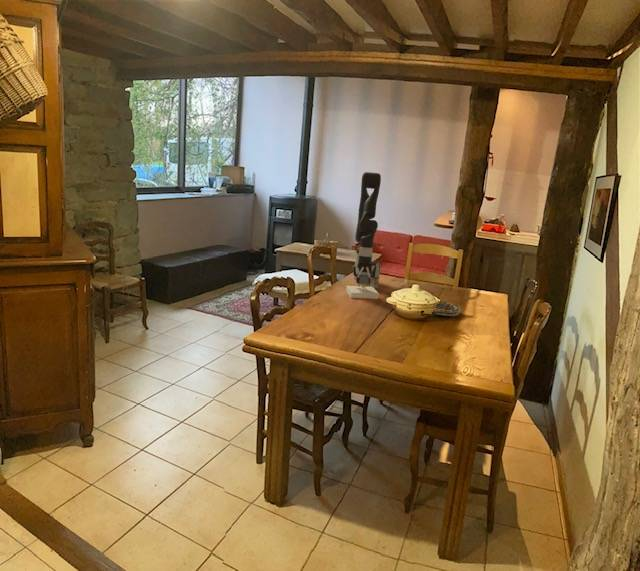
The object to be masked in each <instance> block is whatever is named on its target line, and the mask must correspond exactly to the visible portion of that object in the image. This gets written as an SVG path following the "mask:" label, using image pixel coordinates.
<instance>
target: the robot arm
mask: <svg viewBox="0 0 640 571" xmlns="http://www.w3.org/2000/svg"><path fill="white" fill-rule="evenodd" d="M381 180H382V177H381V174H380V173H378V172H368V171H365V172H363V174H362V177H361V183H360V184H361V185H360V187H361V188H360V198H359V206H358V214H357V215H358V216H357V224H356V228H355V229H356V231H355V237H354V238H355V242H357V243H360V244H359V247H357V248H356V250H355V252H356V253H355V262H354V265H352V273H353V278H354V279H355V280H356V283H357V285H358V284H359V276H360V274H362V273H363V272H366V273H367V275H368V276H369V282H368V284H369V283H370V278H371V277H374V274H375V271H376V267H375V266H372V265H371V262H372V261H373V246H374V239H375V234H376V233H377V230H378V226H379V225H378V224H379V223H378V222H377V221H376V220H374V219H375V217H376V214H377V212H376V210H377V202H378V198H379V193H380V188H381ZM368 189H371V190H373V192H371V194H370V193H369V192H368ZM371 268H372V273H371V275H370V272H369V270H370V269H371Z"/></svg>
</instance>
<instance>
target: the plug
mask: <svg viewBox="0 0 640 571" xmlns="http://www.w3.org/2000/svg"><path fill="white" fill-rule="evenodd" d="M368 282H369V276H368V275H367V274H360V276H359V284H357V286H358V287H360V286H361V284H362V289H364V287H366V284H368Z"/></svg>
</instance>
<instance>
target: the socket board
mask: <svg viewBox="0 0 640 571" xmlns="http://www.w3.org/2000/svg"><path fill="white" fill-rule="evenodd" d="M345 292H346V293H347V294H348V296H349V298H350V299H370V300H371V299H373V300H376V299H377V300H379V296H380V293H379V292H378V291H377V290H376V288H375V289H374V288H373V287H367V286H366V287H364V289H362V286H361V285H360V287H358V285H346V286H345Z"/></svg>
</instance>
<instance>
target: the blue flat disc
mask: <svg viewBox="0 0 640 571" xmlns="http://www.w3.org/2000/svg"><path fill="white" fill-rule="evenodd" d="M461 312H462V308H461V306H458V305H457V304H454V303H451V302H448V301H444V300H440V302H439V304H437V305H436V307H435V308H434V310H433V312H432V314H431V315H430V316H432V317H442V318H455V317H459V314H460V313H461ZM427 318H429V316H428V317H427ZM430 319H432V318H431V317H430Z"/></svg>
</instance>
